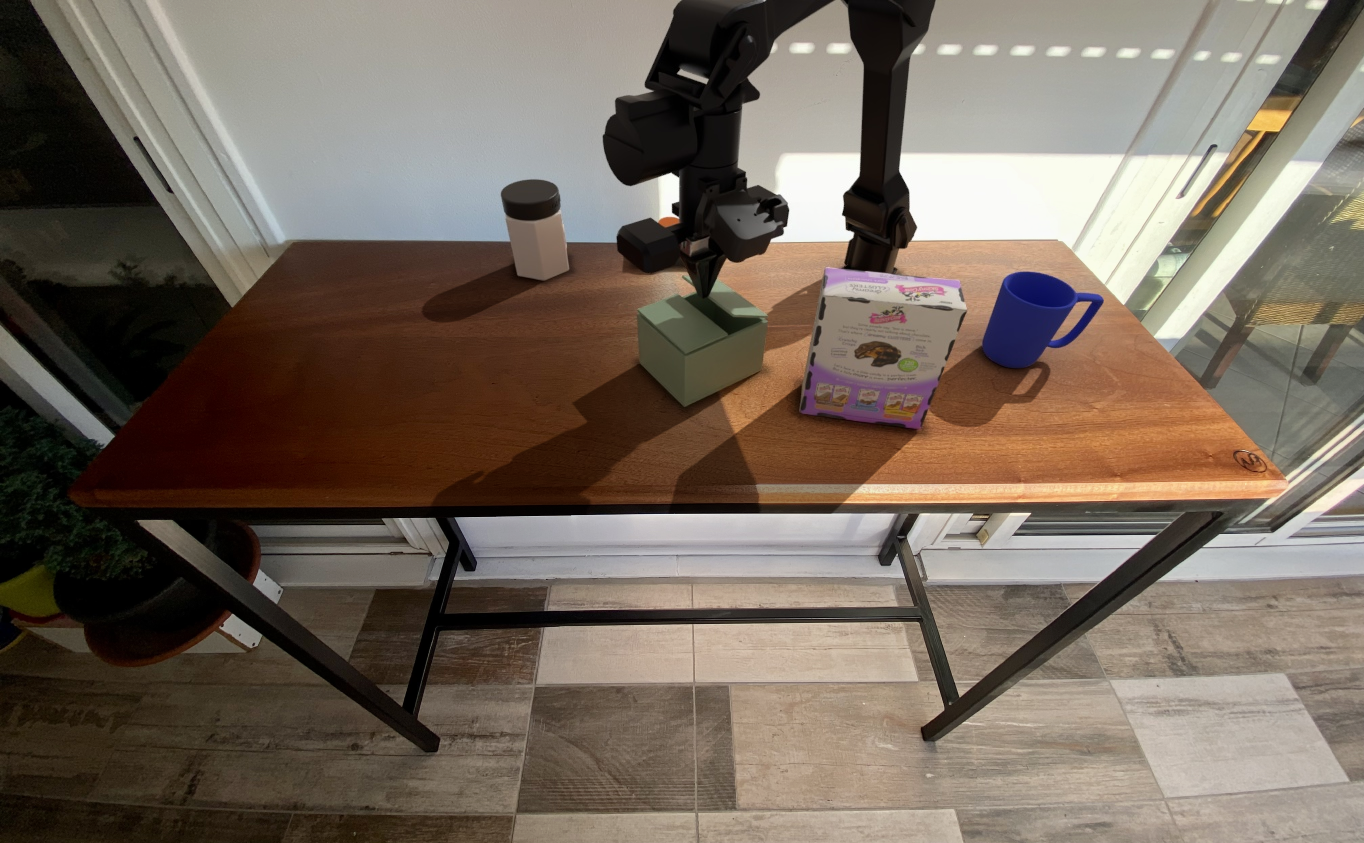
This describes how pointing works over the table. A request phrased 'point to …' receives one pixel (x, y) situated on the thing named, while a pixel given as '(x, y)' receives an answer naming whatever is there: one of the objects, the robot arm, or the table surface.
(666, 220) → the button
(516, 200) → the jar
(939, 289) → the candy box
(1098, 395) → the table surface
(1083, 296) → the mug
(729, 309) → the flap
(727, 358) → the carton
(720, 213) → the robot arm
